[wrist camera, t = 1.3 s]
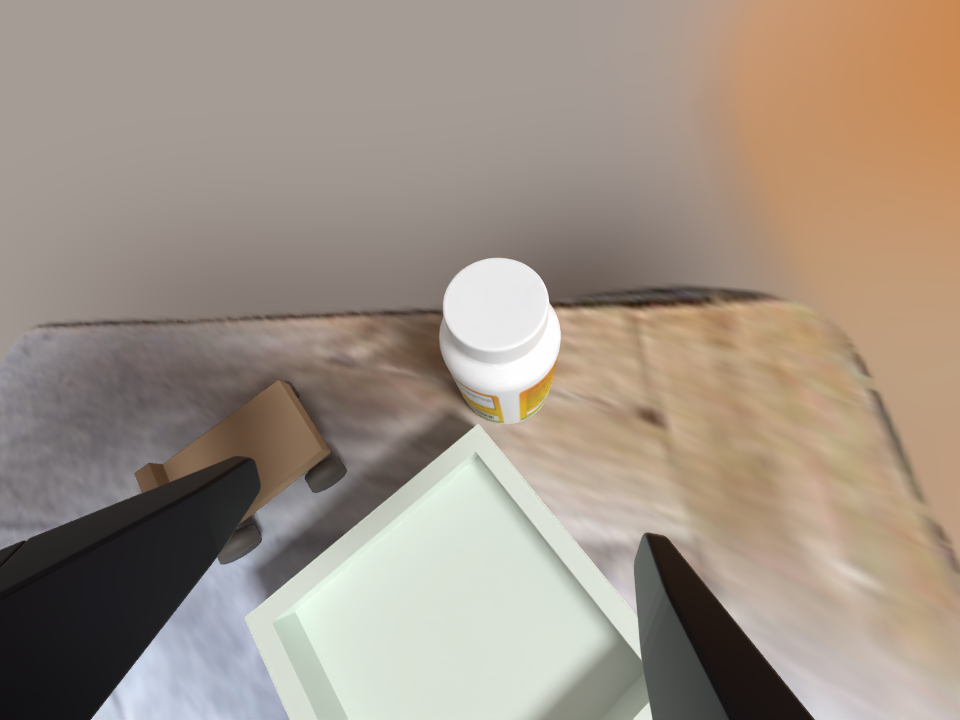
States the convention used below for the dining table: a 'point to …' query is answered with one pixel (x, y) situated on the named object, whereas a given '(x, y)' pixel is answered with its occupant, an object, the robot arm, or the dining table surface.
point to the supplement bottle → (500, 339)
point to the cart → (257, 455)
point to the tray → (454, 610)
